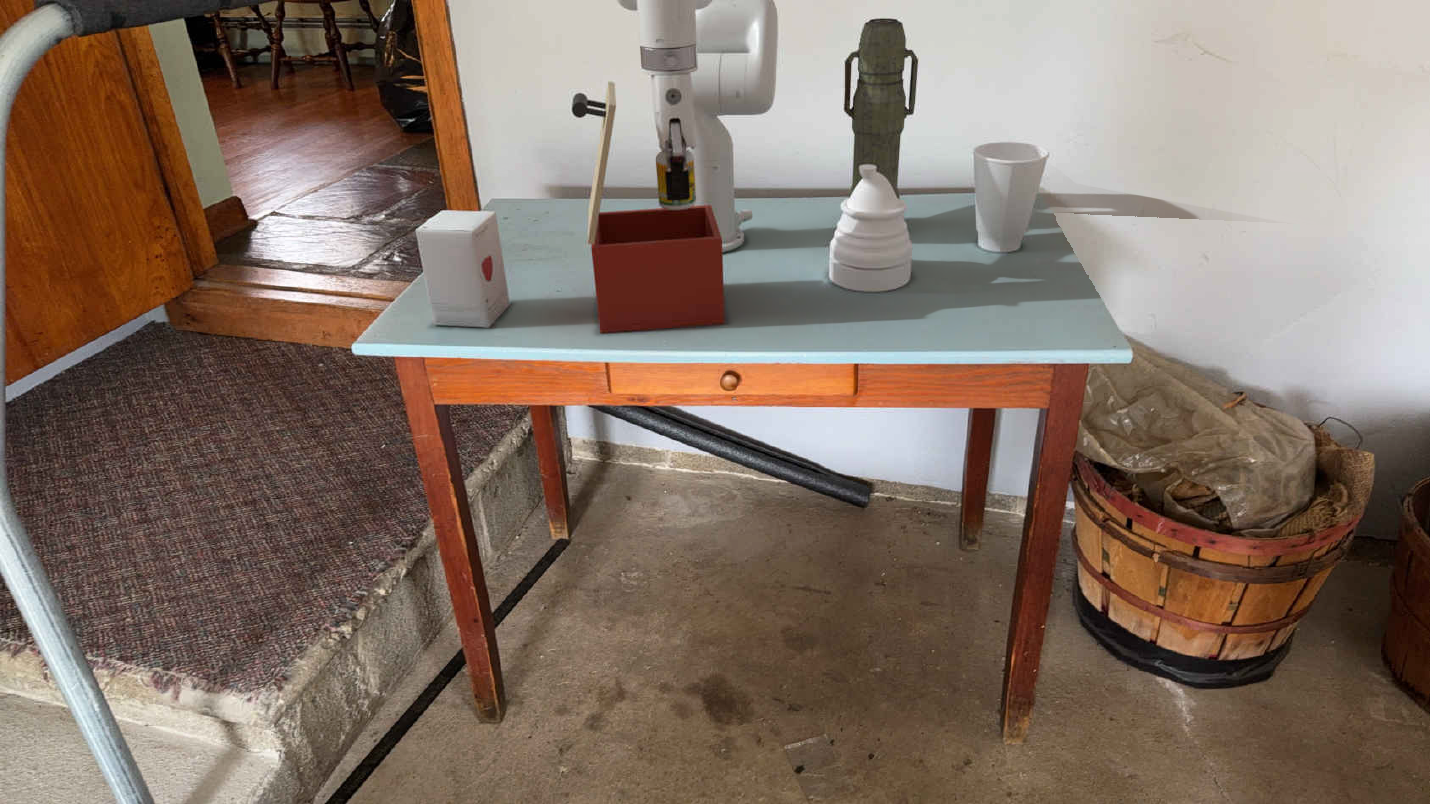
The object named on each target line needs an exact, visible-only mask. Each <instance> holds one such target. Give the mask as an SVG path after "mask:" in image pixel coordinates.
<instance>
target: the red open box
mask: <svg viewBox="0 0 1430 804" xmlns="http://www.w3.org/2000/svg"><path fill="white" fill-rule="evenodd" d="M590 247H591V248H590V249H591V258H592V259H591V260H592V269H593V277H594V288H595V295H596V296H595V297H596V305H597V315H598V325H599V333H600V334H609V333H621V332H635V331H636V332H637V331H648V330H660V329H661V330H662V329H674V328H675V329H676V328H685V327H686V328H687V327H700V326H713V325H724V324H725V323H726V322H725V320H726V319H725V290H724V287H725V286H724V262H723V261H724V257H723V255H724V254H723V252H722V237H721V234H720V231H719V228H718V225H717V222H716V219H715V216H714V213H713V210H712V208H711V205H704V206H692V207H691V208H688V209H683V210H668V209H664V208H662V207H660V208H647V209H632V210H616V211H601V212H600V211H599V217H598V223H597V229H596V236H595V242H594V244H590Z"/></svg>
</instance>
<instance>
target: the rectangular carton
mask: <svg viewBox="0 0 1430 804" xmlns="http://www.w3.org/2000/svg"><path fill="white" fill-rule="evenodd" d="M415 234H416V241H417V245H418V250H419V256H420V261H421V266H422V272H423V277H424V280H425V287H426V292H427V298H428V302H429V308H430V312H431V319H432V323H433V325H434V326H450V327H468V328H469V327H471V328H485V329H488V328H490V327H491V326H492V324H493V323H495V322H496V320H498V318H499V317H500V316H501V315H502V314H503V312H504V311H505V310H506V309H507V308H508V307H509V306H510V297H509V291H508V290H509V289H508V282H507V276H506V270H505V264H504V257H503V250H502V245H501V238H500V231H499V224H498V217H497V211H489V210H487V211H485V210H449V209H445V210H441V211H439V212H437V214H435V215H434V216H432V217H430V218H428V219H427V220H426V222H423V223H422V225H420V226H418V228H416V229H415Z"/></svg>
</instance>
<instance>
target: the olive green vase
mask: <svg viewBox="0 0 1430 804" xmlns="http://www.w3.org/2000/svg"><path fill="white" fill-rule="evenodd" d="M906 44H907V37H906V33H905V29H904V25H903V22H901V21H899V20H898V19H896V18H887V17H885V18H871V19H869V20H868V21H867V22H864V24H863V27H862V30H861V33H860V38H859V43H858V49H857V50H854V51H851V52H850V54H849V55H848V56H847V58H845V60H844V97H843V99H844V100H843V111H844V113H845V114H846V115H847V116H848V117H850V118H851V129H852V133H853V155H852V156H853V157H852V159H853V160H852V161H853V162H852V182H851V183H852V184H851V186H850V189H849V195H848V198H850V196H851V194H852V193H853V191H854V189H855V188H856V186H857V185H858V183H859V182H860V181H861V179H862V176H861V175H860V171H859V166H861V165H866V164H870V165H875V166H876V167H877V168H876V172H878V173H880V174H882V175H883V176H884V177H885V178H886V179H887V180H888V181H889V183H890V184H891V186H892V188H893V190H894V192H895V194H896V197H897V198H898V199H900V198H901V197H900V193H899V189H898V183H899V182H898V180H899V166H900V165H899V164H900V153H901V152H900V151H901V150H900V149H901V137H902V136H901V135H902V133H903V131H904V129H905V120H906V119H907V117H908V116H912V115H914V113H915V105H916V97H917V96H916V95H917V84H918V83H917V81H918V68H919V59H918V57H917V55H916V54H915V51H913V49H908V48H907V47H906V46H907V45H906ZM909 57H910V58H911V63H910V66H911V67H910V80H909V93H908V95H909V96H908V107H907V106H906V103H907V96H906V92H905V88H904V78H903V75H904V71H905V64H906V63H905V62H906V61H905V60H906V59H908V58H909ZM855 58H857V59H858V60H857V72H858V78H857V79H856V81H857V82H856V88H855V92H854V94H853V97H852V106H851V92H852V89H851V88H852V87H851V86H852V64H853V61H854V59H855ZM900 200H901V199H900Z"/></svg>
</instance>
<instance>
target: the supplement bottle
mask: <svg viewBox="0 0 1430 804" xmlns="http://www.w3.org/2000/svg"><path fill="white" fill-rule="evenodd" d="M685 144H686V142H685ZM681 145H682V144H681ZM658 147H659V149H660V150H661V151H659V152H658V153H657V155H656V156H655V168H656V179H657V180H656V181H657V192H658V204H659V206H660V208H664V209H668V210H683V209H688V208H691V207H692V206H694V205H695V203H696V190H695V171H694V156H693V154H692V153H691V152H690V151H689V150H687V148H688V146H687V144H686V158H687V170H689V188H690V198H689V199H687V200H672V201H669V200H668V199H667V193H666V177H665V171H667V163H666V152H665V151H664V150H662V149H661V147H660V143H659V142H658ZM668 148H672V144H668ZM682 148H683V146H682ZM671 156H673V154H672V153H670V157H671Z"/></svg>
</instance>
